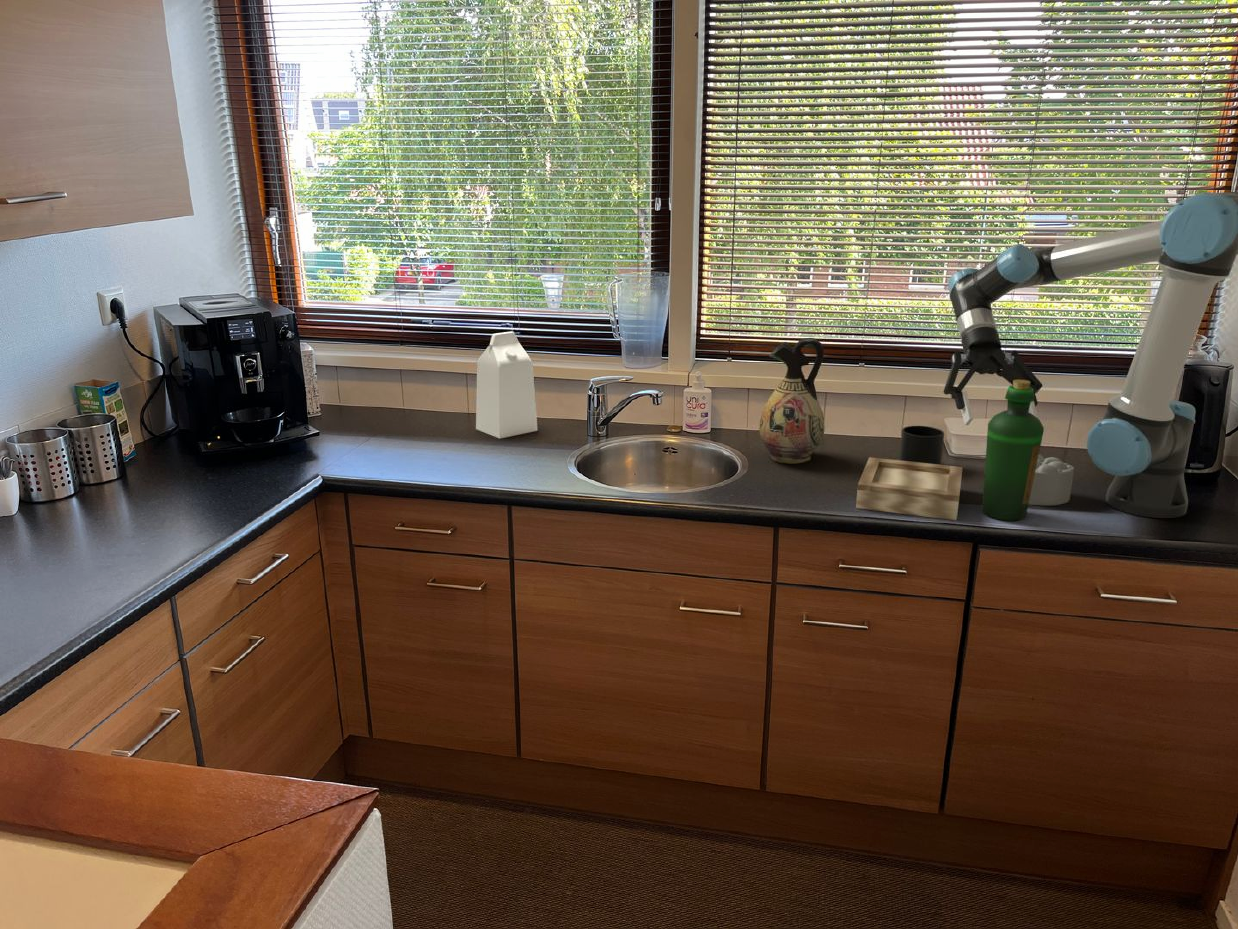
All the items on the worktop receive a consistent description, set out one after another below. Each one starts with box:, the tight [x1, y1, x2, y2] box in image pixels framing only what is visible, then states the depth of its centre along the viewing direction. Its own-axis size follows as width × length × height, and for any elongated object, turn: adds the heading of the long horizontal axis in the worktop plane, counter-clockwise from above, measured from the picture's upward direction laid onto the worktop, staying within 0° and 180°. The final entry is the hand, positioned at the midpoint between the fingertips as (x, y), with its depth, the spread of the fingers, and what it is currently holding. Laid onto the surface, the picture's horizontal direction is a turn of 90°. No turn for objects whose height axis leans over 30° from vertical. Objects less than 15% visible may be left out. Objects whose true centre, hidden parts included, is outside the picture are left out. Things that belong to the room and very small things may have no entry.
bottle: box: [981, 380, 1045, 522], centre depth 194 cm, size 11×11×28 cm
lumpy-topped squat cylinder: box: [1028, 454, 1075, 506], centre depth 207 cm, size 10×13×9 cm
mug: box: [898, 425, 945, 465], centre depth 227 cm, size 9×12×9 cm
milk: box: [475, 331, 538, 439], centre depth 253 cm, size 12×12×26 cm
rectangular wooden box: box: [855, 456, 964, 521], centre depth 206 cm, size 20×20×5 cm
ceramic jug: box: [758, 337, 825, 465], centre depth 229 cm, size 17×15×30 cm
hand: (1001, 421), depth 197 cm, fingers open, 13 cm apart
